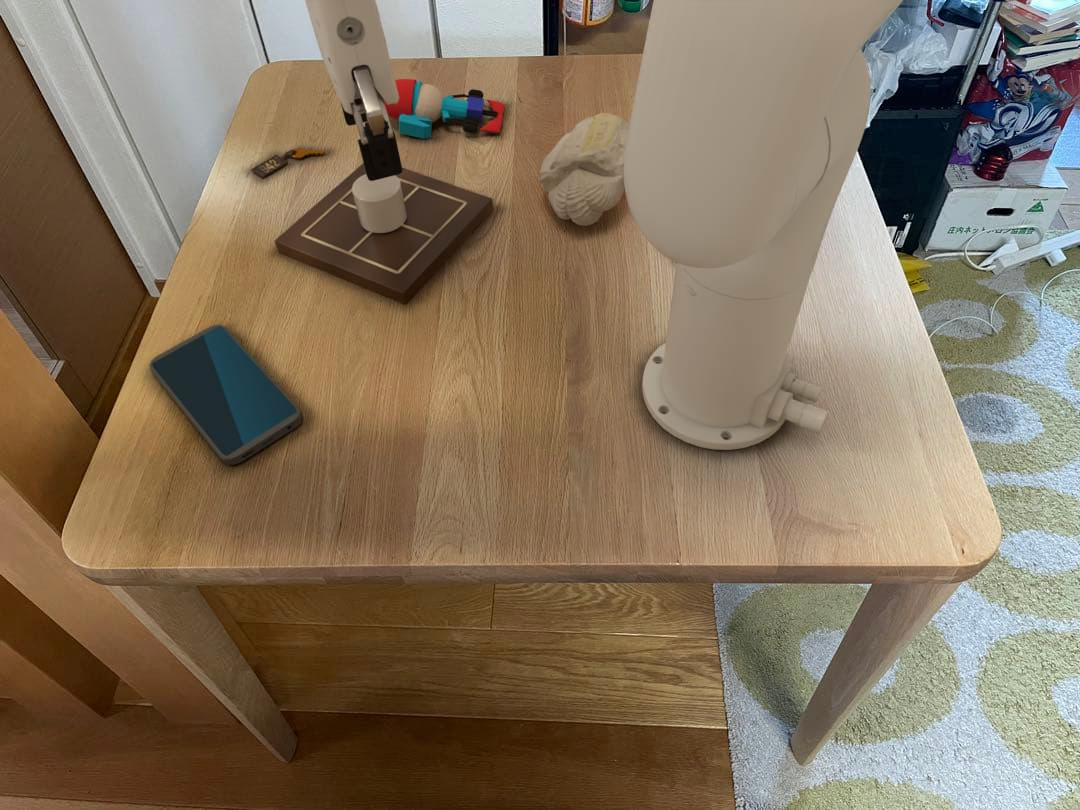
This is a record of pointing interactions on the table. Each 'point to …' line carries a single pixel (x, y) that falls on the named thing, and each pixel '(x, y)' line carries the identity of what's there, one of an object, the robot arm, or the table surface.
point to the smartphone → (226, 394)
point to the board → (387, 235)
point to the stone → (379, 203)
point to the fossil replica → (587, 169)
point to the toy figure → (440, 109)
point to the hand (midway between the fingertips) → (373, 147)
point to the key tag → (281, 161)
